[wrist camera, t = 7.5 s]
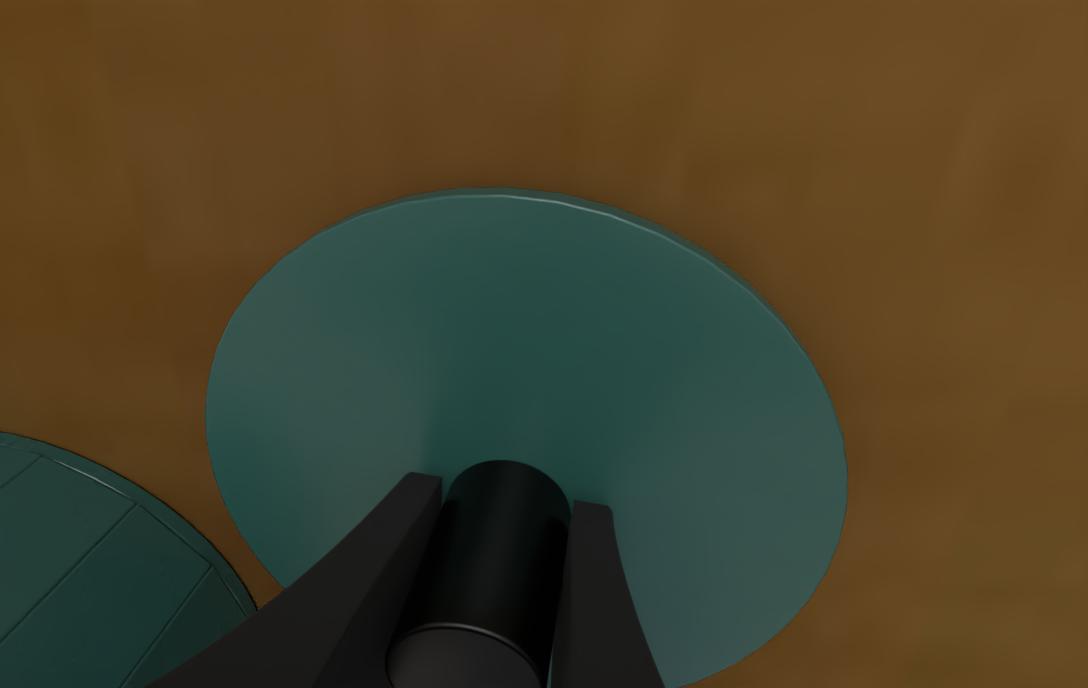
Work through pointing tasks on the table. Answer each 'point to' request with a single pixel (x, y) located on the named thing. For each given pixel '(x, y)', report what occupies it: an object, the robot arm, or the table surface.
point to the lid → (531, 427)
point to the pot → (100, 576)
